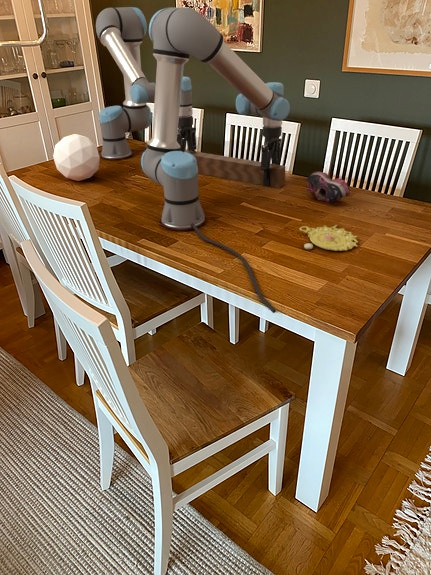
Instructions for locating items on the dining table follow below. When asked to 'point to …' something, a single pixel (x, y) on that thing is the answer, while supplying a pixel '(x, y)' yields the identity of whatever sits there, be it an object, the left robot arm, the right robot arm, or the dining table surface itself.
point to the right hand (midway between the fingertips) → (269, 182)
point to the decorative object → (330, 238)
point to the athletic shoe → (327, 187)
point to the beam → (238, 169)
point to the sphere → (76, 157)
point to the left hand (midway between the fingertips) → (187, 167)
